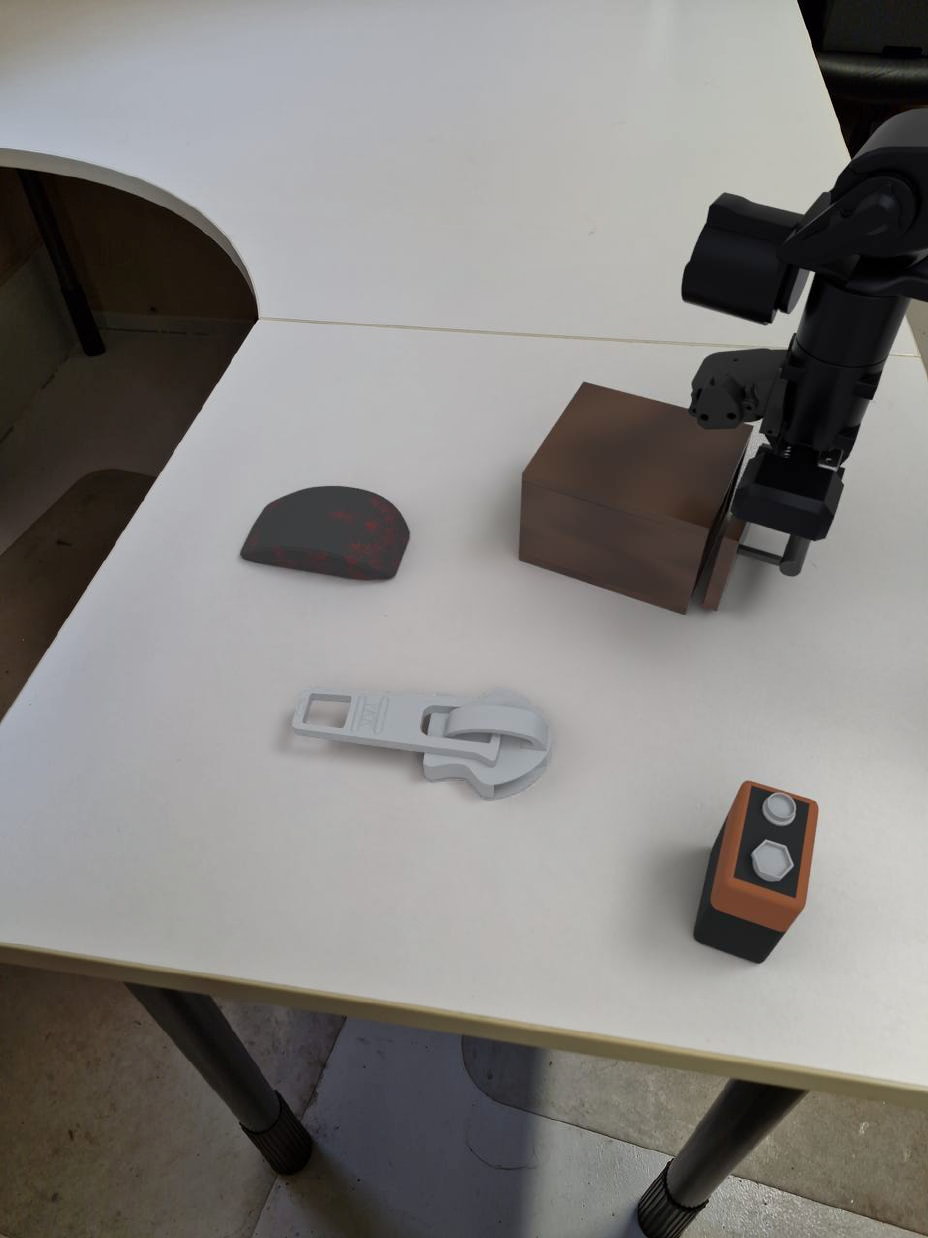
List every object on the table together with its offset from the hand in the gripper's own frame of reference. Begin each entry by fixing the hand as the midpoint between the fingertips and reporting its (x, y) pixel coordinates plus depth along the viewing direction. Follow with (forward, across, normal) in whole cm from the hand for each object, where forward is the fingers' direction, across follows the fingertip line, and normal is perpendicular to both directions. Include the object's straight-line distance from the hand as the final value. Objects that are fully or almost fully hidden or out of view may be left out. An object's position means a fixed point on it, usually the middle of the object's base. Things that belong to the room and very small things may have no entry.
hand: (778, 521), depth 66 cm
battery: (+7, +28, +5) cm, 29 cm away
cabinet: (+6, 0, -12) cm, 13 cm away
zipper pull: (+7, +26, -18) cm, 32 cm away
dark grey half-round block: (+6, +12, -35) cm, 37 cm away
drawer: (+6, 0, -6) cm, 8 cm away
